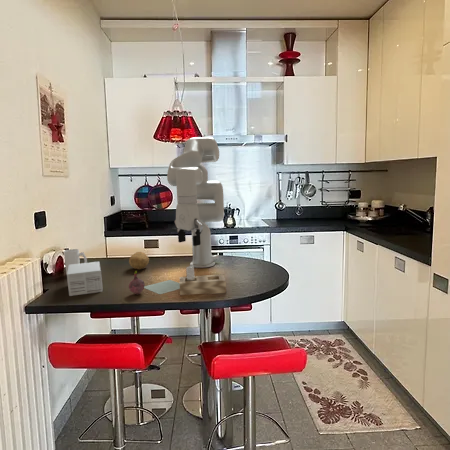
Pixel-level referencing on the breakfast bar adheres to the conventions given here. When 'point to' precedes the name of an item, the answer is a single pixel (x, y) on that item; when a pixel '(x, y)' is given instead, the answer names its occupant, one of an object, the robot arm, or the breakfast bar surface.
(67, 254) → the mug
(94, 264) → the supplement box
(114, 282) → the breakfast bar surface
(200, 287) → the hole block
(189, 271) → the pin
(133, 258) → the potato
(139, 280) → the vegetable
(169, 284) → the mat
